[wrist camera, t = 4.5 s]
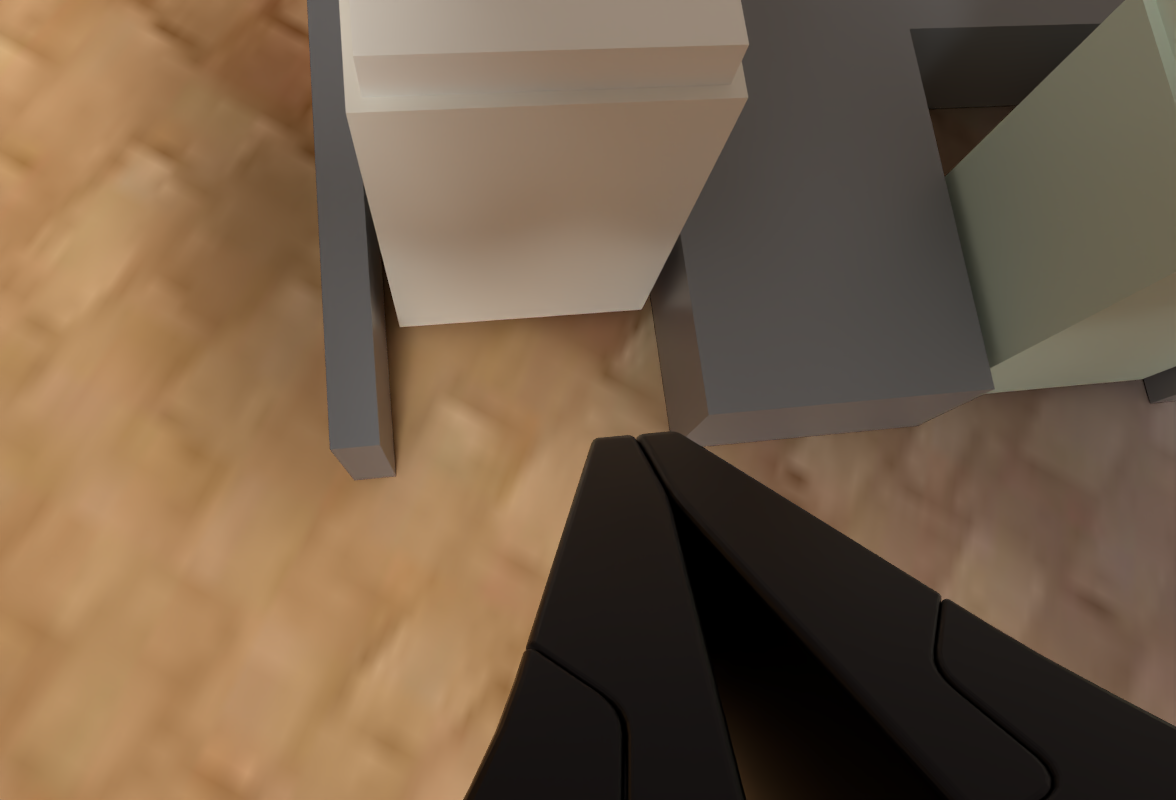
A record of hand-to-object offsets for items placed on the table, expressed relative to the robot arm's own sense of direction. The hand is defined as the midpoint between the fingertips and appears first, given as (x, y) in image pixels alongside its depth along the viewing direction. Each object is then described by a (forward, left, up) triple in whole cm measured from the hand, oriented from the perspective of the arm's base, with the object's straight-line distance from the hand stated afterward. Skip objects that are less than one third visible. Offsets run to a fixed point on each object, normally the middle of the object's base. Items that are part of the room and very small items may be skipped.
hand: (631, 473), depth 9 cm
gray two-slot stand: (+2, -8, -9) cm, 12 cm away
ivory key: (+6, -3, -9) cm, 11 cm away
